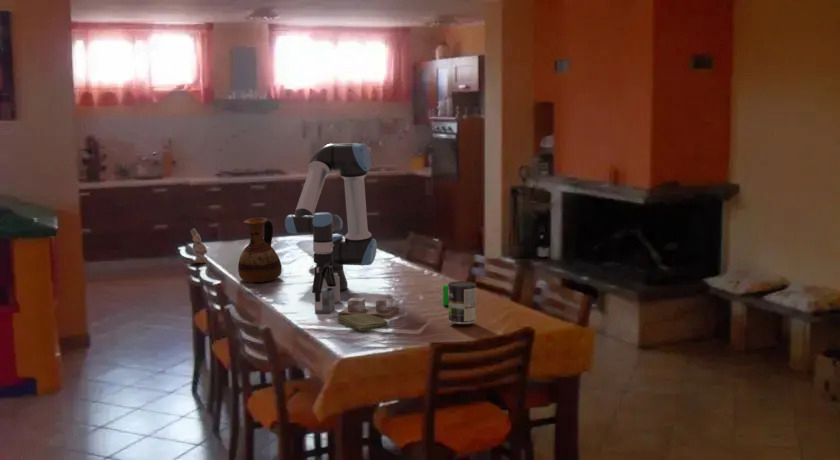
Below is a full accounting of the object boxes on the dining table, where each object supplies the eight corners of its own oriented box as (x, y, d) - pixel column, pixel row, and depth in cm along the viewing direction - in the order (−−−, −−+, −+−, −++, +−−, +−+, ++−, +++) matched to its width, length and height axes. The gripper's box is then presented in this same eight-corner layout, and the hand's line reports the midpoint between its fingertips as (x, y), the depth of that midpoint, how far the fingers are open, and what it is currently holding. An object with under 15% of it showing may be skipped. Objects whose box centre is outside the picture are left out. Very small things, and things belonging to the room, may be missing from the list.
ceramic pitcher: (230, 283, 432) (227, 219, 428) (253, 276, 450) (251, 214, 447) (267, 286, 424) (265, 220, 421) (289, 278, 443) (287, 215, 439)
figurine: (189, 266, 483) (188, 228, 481) (205, 264, 488) (203, 226, 486) (196, 268, 476) (194, 229, 474) (212, 266, 481) (210, 228, 479)
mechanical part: (458, 305, 378) (458, 285, 377) (443, 305, 378) (443, 285, 377) (457, 299, 390) (457, 280, 389) (443, 299, 390) (442, 280, 389)
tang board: (338, 316, 358) (338, 302, 358) (349, 309, 372) (349, 295, 371) (388, 318, 354) (388, 304, 353) (398, 311, 367) (398, 297, 366)
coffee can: (450, 324, 342) (449, 286, 341) (446, 318, 353) (446, 281, 351) (478, 323, 343) (477, 285, 342) (474, 317, 353) (473, 280, 352)
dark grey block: (315, 313, 365) (314, 290, 364) (320, 310, 371) (319, 287, 370) (329, 314, 363) (329, 291, 362) (334, 310, 369) (334, 288, 368)
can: (343, 300, 389) (342, 272, 387) (335, 304, 382) (335, 275, 380) (326, 300, 391) (325, 271, 390) (318, 303, 384) (318, 274, 382)
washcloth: (359, 332, 334) (359, 323, 334) (335, 323, 348) (335, 315, 348) (390, 327, 342) (390, 318, 341) (365, 318, 356) (365, 310, 356)
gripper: (321, 257, 351) (323, 313, 354) (342, 248, 375) (343, 300, 378) (302, 256, 353) (304, 312, 356) (324, 247, 377) (326, 299, 380)
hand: (324, 306), depth 367 cm, fingers open, 13 cm apart
